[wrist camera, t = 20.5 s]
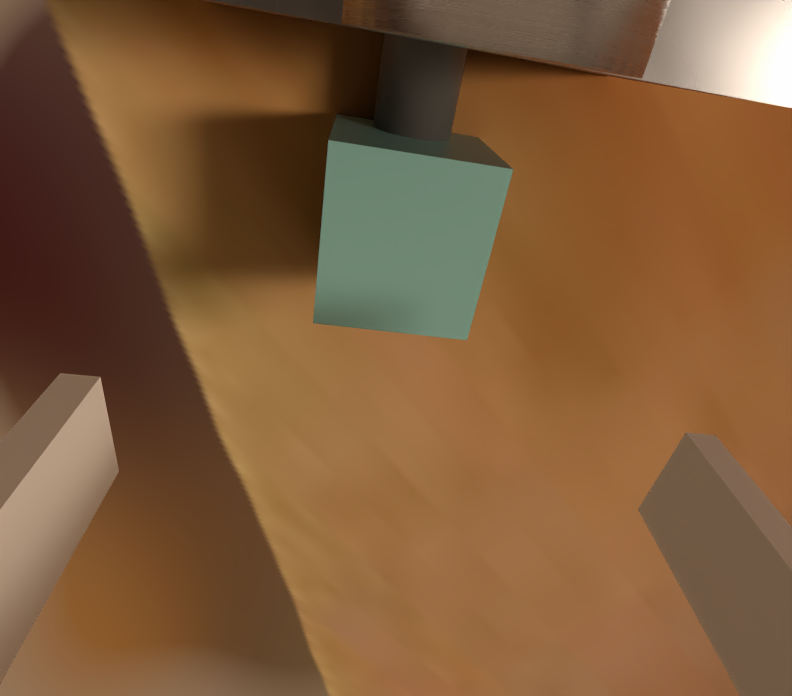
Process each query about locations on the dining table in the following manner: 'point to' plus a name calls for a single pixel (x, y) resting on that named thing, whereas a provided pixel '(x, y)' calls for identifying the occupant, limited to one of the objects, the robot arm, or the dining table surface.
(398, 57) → the mallet
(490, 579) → the dining table surface
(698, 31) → the housing
